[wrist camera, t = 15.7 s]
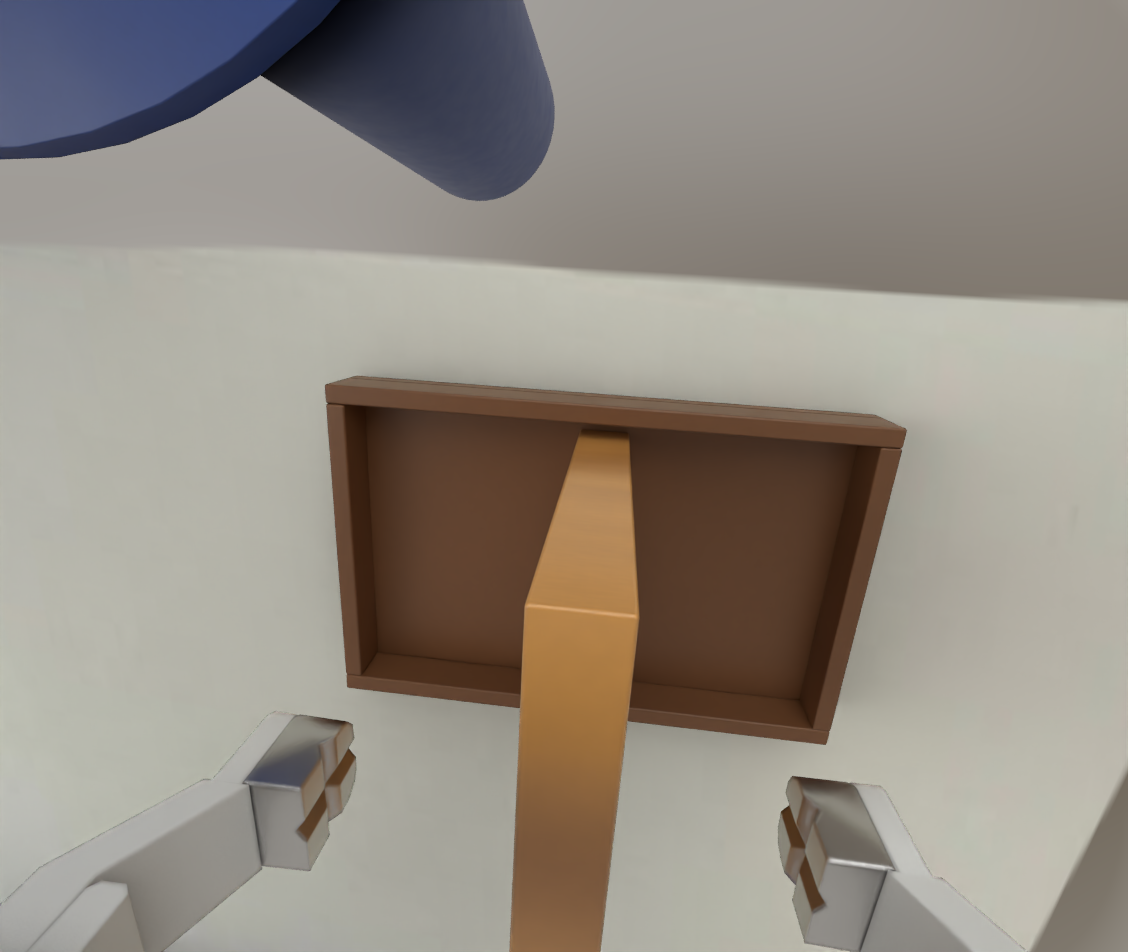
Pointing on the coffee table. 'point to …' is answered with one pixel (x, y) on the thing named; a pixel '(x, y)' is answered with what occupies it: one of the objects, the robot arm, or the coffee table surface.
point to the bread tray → (662, 539)
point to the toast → (575, 703)
